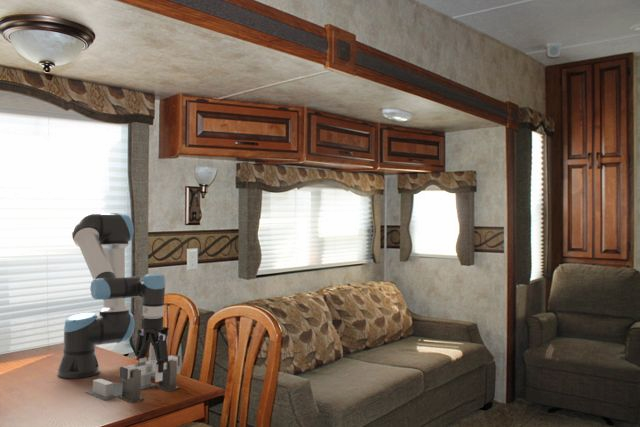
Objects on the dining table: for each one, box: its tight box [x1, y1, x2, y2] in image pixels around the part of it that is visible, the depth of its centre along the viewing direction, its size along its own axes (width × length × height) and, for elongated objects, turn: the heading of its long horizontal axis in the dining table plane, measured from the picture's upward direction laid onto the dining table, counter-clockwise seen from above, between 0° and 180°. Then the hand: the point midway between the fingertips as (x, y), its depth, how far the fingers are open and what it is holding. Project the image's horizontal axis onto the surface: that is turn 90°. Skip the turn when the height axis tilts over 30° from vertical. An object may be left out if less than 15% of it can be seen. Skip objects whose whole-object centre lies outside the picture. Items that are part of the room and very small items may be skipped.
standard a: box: [117, 370, 145, 404], centre depth 194 cm, size 8×5×10 cm, turn 54°
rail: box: [118, 354, 181, 380], centre depth 201 cm, size 4×24×4 cm, turn 145°
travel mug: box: [150, 326, 169, 380], centre depth 220 cm, size 6×7×20 cm
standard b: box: [154, 361, 181, 393], centre depth 207 cm, size 8×5×10 cm, turn 54°
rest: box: [85, 373, 158, 401], centre depth 204 cm, size 12×22×5 cm, turn 144°
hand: (150, 378), depth 201 cm, fingers open, 9 cm apart
